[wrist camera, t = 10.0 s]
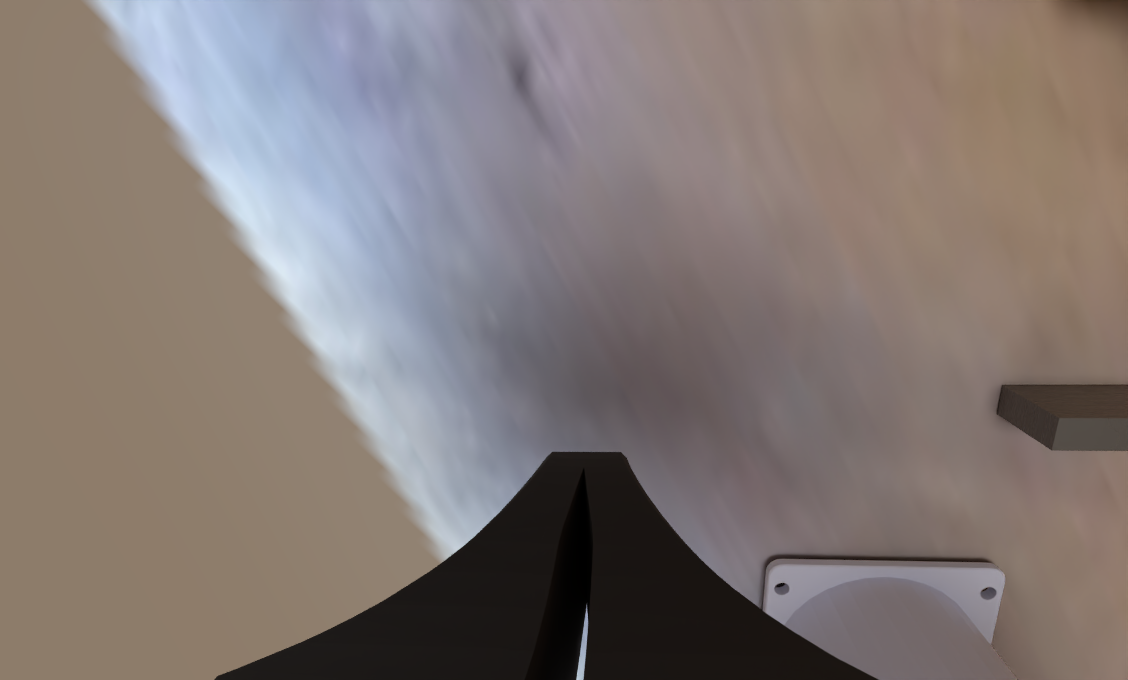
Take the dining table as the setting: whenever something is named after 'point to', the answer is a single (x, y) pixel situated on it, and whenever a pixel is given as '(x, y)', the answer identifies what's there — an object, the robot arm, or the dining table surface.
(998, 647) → the dining table surface
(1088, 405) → the flange dock
